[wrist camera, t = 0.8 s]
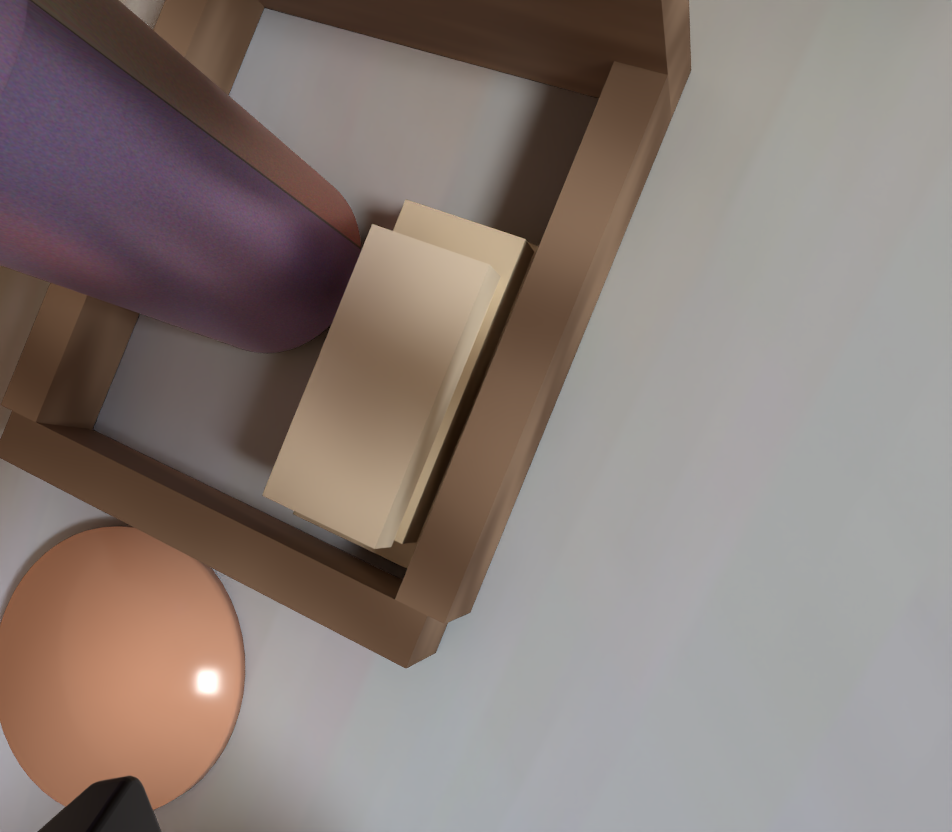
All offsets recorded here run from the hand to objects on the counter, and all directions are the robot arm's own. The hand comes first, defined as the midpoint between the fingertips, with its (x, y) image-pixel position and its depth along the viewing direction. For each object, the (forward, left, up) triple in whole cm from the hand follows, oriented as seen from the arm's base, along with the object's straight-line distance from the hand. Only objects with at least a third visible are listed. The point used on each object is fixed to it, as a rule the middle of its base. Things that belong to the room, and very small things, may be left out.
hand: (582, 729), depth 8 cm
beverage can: (+5, +15, -15) cm, 22 cm away
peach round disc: (-9, +15, -15) cm, 23 cm away
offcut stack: (+3, +9, -15) cm, 18 cm away
